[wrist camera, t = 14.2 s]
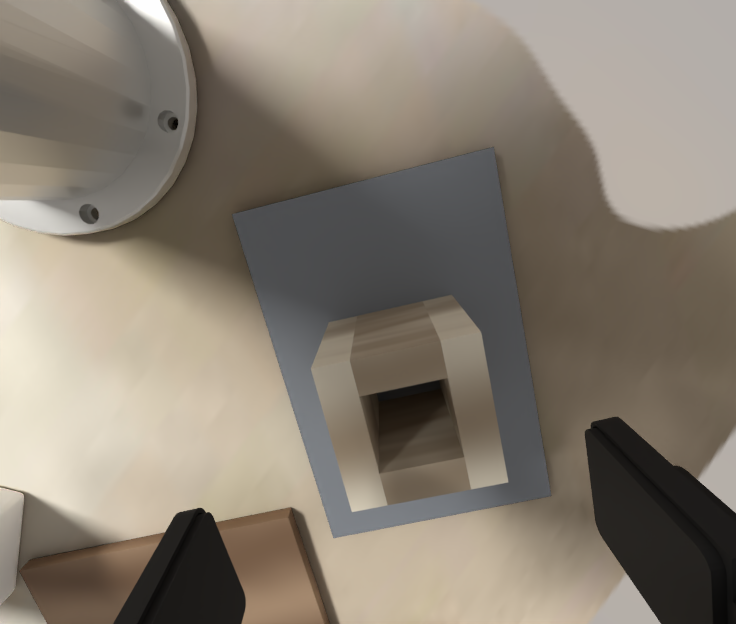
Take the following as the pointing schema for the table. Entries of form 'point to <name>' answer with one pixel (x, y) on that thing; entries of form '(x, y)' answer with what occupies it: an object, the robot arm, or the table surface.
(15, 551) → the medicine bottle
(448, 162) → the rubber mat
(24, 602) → the table surface
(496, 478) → the ring block
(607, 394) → the table surface
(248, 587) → the peg stand
